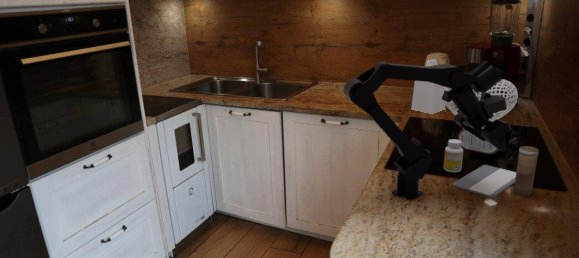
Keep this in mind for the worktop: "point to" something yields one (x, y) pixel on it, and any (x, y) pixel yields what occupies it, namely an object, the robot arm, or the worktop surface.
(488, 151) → the tin
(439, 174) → the worktop surface
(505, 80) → the heart
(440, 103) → the milk
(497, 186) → the slate-grey panel
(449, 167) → the supplement bottle
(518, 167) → the beige tapered cylinder
